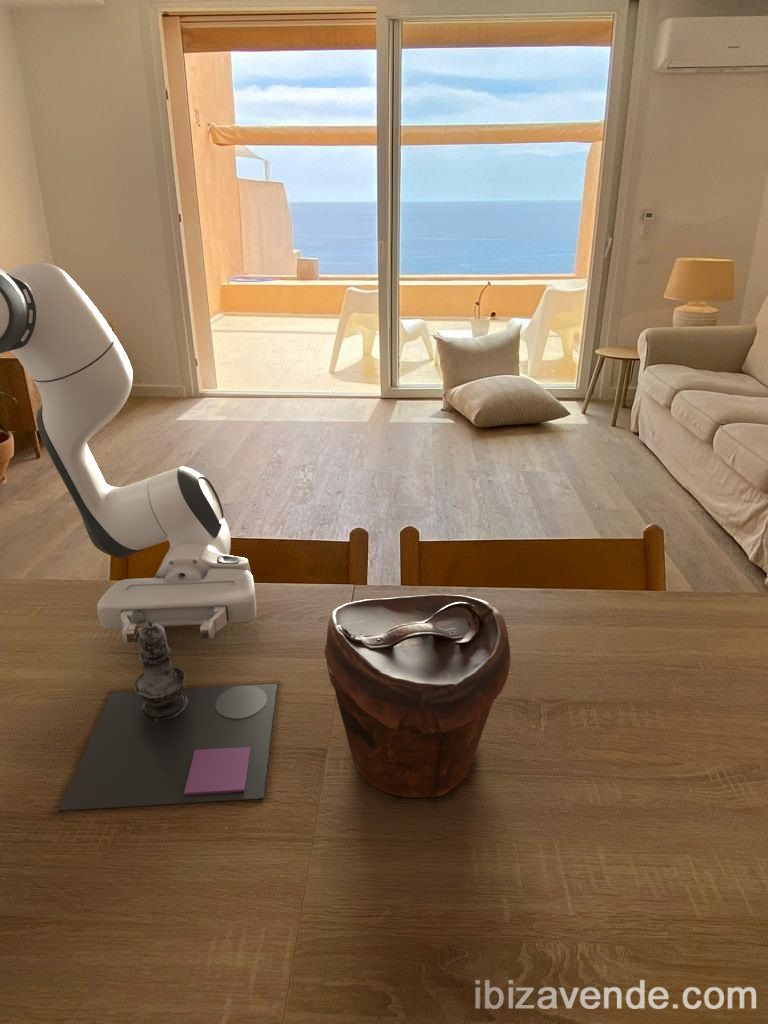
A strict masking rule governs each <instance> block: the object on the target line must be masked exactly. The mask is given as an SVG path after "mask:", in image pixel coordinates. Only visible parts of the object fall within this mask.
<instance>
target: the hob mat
mask: <svg viewBox="0 0 768 1024" xmlns="http://www.w3.org/2000/svg"><path fill="white" fill-rule="evenodd" d="M277 688H278V684H277V683H272V684H271V683H269V684H251V685H249V684H248V685H247V684H246V685H245V684H243V685H232V686H229V685H228V686H213V687H210V686H209V687H195V688H194V687H192V688H184V689H183V692H182V693H183V694H184V695H185V696H186V697H187V700H188V703H187V706H186V708H185V709H184V710H183V712H182V713H180V714H179V715H177V716H175V717H173V718H171V719H167V720H162V721H153V720H149V719H147V718H145V717H144V716H143V714H142V711H141V708H142V705H143V703H144V702H143V700H142V699H141V698H140V697H139V695H138V694H137V693H136V692H135V690H134V691H133V690H132V691H117V692H116V691H115V692H114V691H113V692H111V694H110V696H109V698H108V700H107V703H106V705H105V706H104V709H103V711H102V712H101V713H102V714H101V715H100V718H99V720H98V722H97V725H96V727H95V729H94V731H93V734H92V735H91V738H90V741H89V742H88V743H87V746H86V749H85V751H84V753H83V755H82V758H81V760H80V762H79V764H78V767H77V768H76V771H75V773H74V775H73V778H72V780H71V782H70V784H69V787H68V789H67V791H66V793H65V795H64V798H63V800H62V802H61V805H60V806H59V809H58V812H69V811H70V812H71V811H72V812H73V811H87V810H101V809H104V810H105V809H119V808H120V809H121V808H122V809H123V808H137V807H150V806H151V807H152V806H154V807H155V806H169V805H184V804H185V805H187V804H203V803H219V802H237V801H253V800H264V798H265V792H266V791H265V790H266V789H265V788H266V782H267V773H268V765H269V757H270V756H269V755H270V749H271V748H270V747H271V739H272V731H273V729H272V728H273V722H274V714H275V704H276V696H277ZM242 747H251V751H250V758H249V765H248V771H247V778H246V784H245V791H244V792H228V793H211V794H194V795H184V791H185V787H186V783H187V779H188V775H189V771H190V767H191V763H192V759H193V756H194V752H195V750H206V749H224V748H242Z"/></svg>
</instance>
